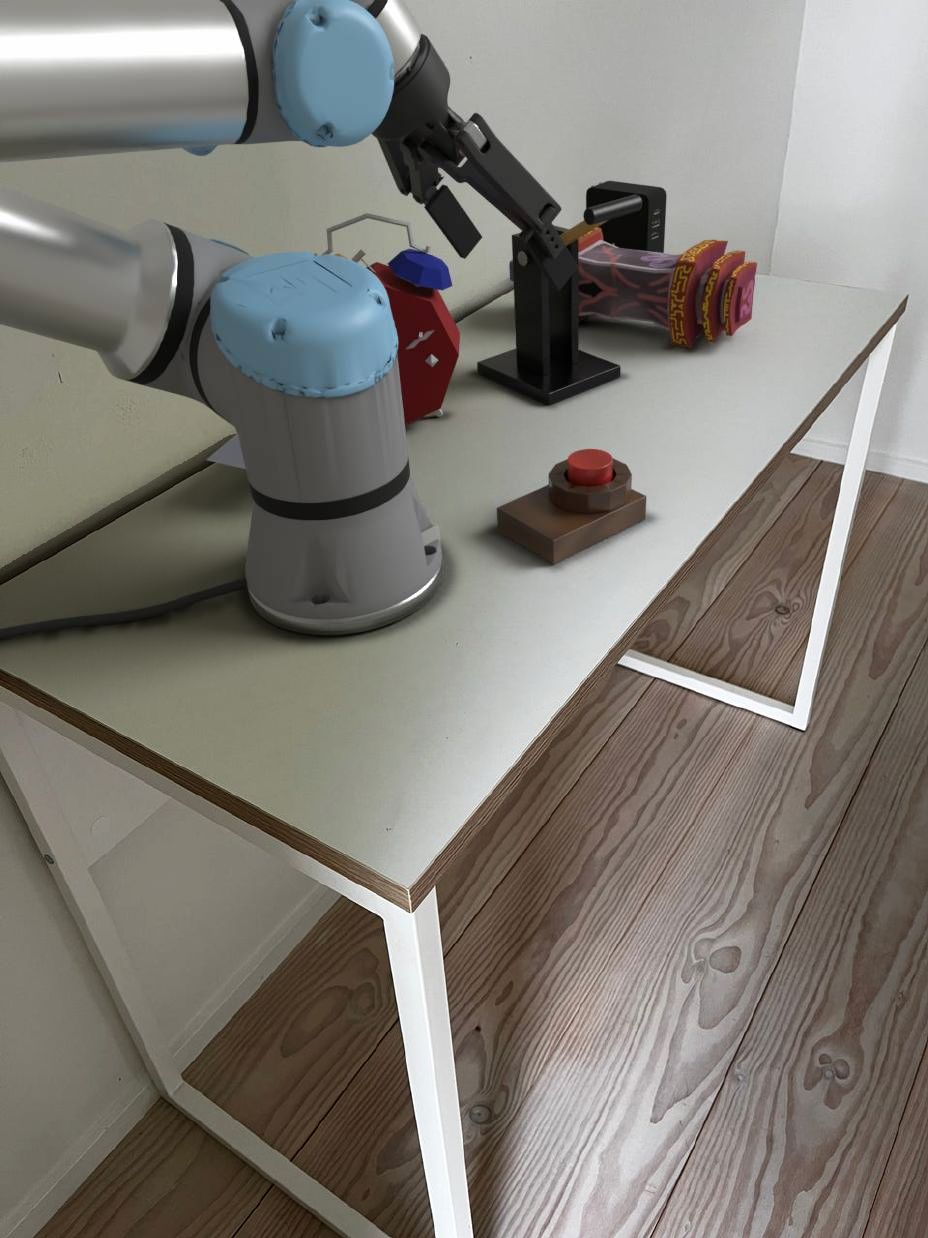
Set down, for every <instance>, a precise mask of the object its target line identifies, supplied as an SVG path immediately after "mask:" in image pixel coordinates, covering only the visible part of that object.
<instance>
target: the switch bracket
mask: <svg viewBox="0 0 928 1238" xmlns="http://www.w3.org/2000/svg"><path fill="white" fill-rule="evenodd" d="M553 226H554V227H555V229H556V231H557V232H558V234H559V236H560V235H561V234H563V233H565V232H566V231H568V230H569V229H570V228H565V227H562V226H558V225H554V224H553ZM520 233H521V232H517V233H514V234H511V249H512V250H511V252H512V253H511V254H512V260H513V281H512V282H513V302H514V306H513V308H514V328H515V348H513V349H510V350H508V351H507V350H506V351H505V352H503V353H499V354H496V355H494V356H491V357H488V358H487V357H486V358H485V359H482V360H480V361H477V362H476V369H477V374H479V375H481V376H483V377H485V378H488V379H490V380H492V381H494V382H497V383H499V384H501V385H504V386H505V387H508V388H510V389H512V390H514V391H516V392H519V393H520V394H523V395H525V396H528V397H530V398H532V399H535V400H537V401H539V402H541V403H543V404H545V405H547V406H550V405H554V404H556V403H558V402H562V401H563V400H566V399H569V398H571V397H574V396H576V395H578V394H581V393H583V392H586V391H589V390H591V389H594V388H596V387H599V386H601V385H604V384H606V383H608V382H611V381H614V380H616V379H618V378H621V373H622V369H621V367H622V366H621V365H620V364H617V363H614V362H613V361H610V360H607V359H604V358H601V357H599V356H596V355H594V354H591V353H589V352H586V351H583V350H581V349H580V348H579V347H580V345H579V344H580V342H579V341H580V340H579V336H580V332H579V331H580V327H579V325H580V324H579V323H580V322H579V239H577V240H575V241H574V242H572V243H571V244H569V245H567V246H566V247H567V249H568V250H569V252H570V254H571V255H572V257H573V259H574V260H575V262H576V264H577V265H578V268H577V269H576V271H575V272H574V273H573V274H572V276H571V277H570V278H569V279H568V281H567V282H566V283H565V284H564V286H563V287H562V288H561V289H560V291H558V290H555V289H553V287H552V286H551V284H550V283H549V281H548V280H547V278H546V277H545V275H544V274H543V272H542V271H541V269H540V267H539V266H538V264H537V263H536V261H535V260H534V258H533V257H532V255H531V254H530V252H529V251H528V249H527V248H526V246H525V244H524V243H522V242H521V241H519V239H520V237H519V234H520Z"/></svg>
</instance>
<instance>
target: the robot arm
mask: <svg viewBox="0 0 928 1238" xmlns="http://www.w3.org/2000/svg"><path fill="white" fill-rule="evenodd" d="M407 4H408V3H406V1H405V0H0V164H2V163H14V162H26V161H38V160H39V161H40V160H51V159H62V158H63V159H64V158H76V157H77V158H78V157H89V156H98V155H99V156H101V155H113V154H126V153H135V152H136V153H138V152H150V151H162V150H174V149H175V150H176V149H182V150H184V151H185V152H188V153H189V154H191V155H193V156H196V157H205V156H208V155H210V154H212V153H213V152H214V150H215V149H216V148H217V147H218V146H223V145H224V146H225V145H256V144H269V143H270V144H271V143H284V142H303V143H305V144H307V145H309V146H310V147H314V148H327V147H333V148H334V147H335V148H342V147H349V146H353V145H356V144H359V143H361V142H362V141H364V140H365V139H367V138H368V137H369V136H371V135H372V137H374V138H376V140H377V142H378V144H379V148H380V150H381V152H382V154H383V156H384V159H385V161H386V164H387V166H388V168H389V171H390V173H391V176H392V179H393V180H394V183H395V186H396V188H397V190H398V191H399V193H400V194H401V195H404V196H405V197H408V196H409V195H410V194H411V195H412V198H413V200H414V201H415V202H416V203H418V204H419V205H424V206H423V208H424V209H425V211H426V212H427V213H428V215H429V217H430V218H431V219H432V221H433V222H434V223H435V224H436V226H437V227H438V228H439V230H440V232H441V233H442V234H443V236H444V237H445V239H446V240H447V241H448V243H449V244H450V245H451V247H452V248H453V249H454V250H455V252H456V254H457V255H458V256H459V258H461V259H464V260H466V258H468V256H469V255H470V254H471V252H472V251H473V250H474V249H475V247H476V246H477V245H478V244H479V242H480V241H481V240H482V239H483V235H482V234H481V232H480V231H479V230H478V228H477V226H475V224H474V222H473V221H472V219H471V218H470V217H469V215H468V213H467V212H466V211H465V209H464V207H462V205H461V203H460V202H459V200H458V199H457V197H456V196H455V195H454V193H453V192H452V190H451V189H450V187H449V186H448V185H446V184H441V182H442V180H443V179H445V176H444V175H442V174H441V173H440V172H439V169H441V170H442V171H443V172H444V173H445V174H447V175H448V176H449V177H450V178H452V179H453V180H454V181H455V182H456V183H458V184H464V183H466V184H468V185H469V186H470V187H471V188H472V189H473V190H475V192H477V193H478V194H479V195H480V196H482V197H483V198H484V199H485V200H486V201H487V202H488V203H489V204H490V205H492V206H493V207H494V208H495V209H496V210H497V211H499V212H500V213H501V214H502V215H503V216H505V218H507V220H509V221H510V222H511V223H513V224H514V225H515V226H516V227H517V228H518V229H519V230H520V232H519V233H520V234H519V237H520V239H519V241H521V242H522V243H524V244H525V246H526V248H527V249H528V251H529V252H530V254H531V255H532V257H533V258H534V260H535V261H536V263H537V264H538V266H539V267H540V269H541V271H542V272H543V274H544V275H545V277H546V278H547V280H548V281H549V283H550V284H551V286H552V287H553V289H555V290H558V291H560V289H561V288H562V287H563V286H564V284H565V283H566V282H567V281H568V279H569V278H570V277H571V276H572V274H573V273H574V272H575V271H576V269H577V268H578V265H577V264H576V262H575V260H574V259H573V257H572V255H571V254H570V252H569V250H568V249H567V247H566V246H565V244H564V242H563V241H562V239H561V237H560V236H559V234H558V232H557V231H556V229H555V227H554V226H553V225H554V224H553V221H554V220H555V219H556V218H557V217H558V215H559V214H560V213H561V211H562V207H561V205H560V203H558V202H557V200H556V199H555V198H554V197H553V196H552V195H551V194H550V193H549V192H548V191H547V190H546V189H545V188H544V187H543V186H542V184H541V183H540V182H539V181H538V180H537V179H536V178H535V177H534V175H532V173H530V171H528V170H527V168H526V167H525V166H524V165H523V164H522V163H521V162H520V160H518V158H516V156H515V155H514V154H513V153H512V152H511V151H510V150H509V149H508V148H507V147H506V145H504V144H503V143H502V142H501V140H500V139H499V138H498V137H497V136H496V134H495V132H494V131H493V130H492V128H491V126H489V124H488V123H487V121H486V120H485V119H484V117H483V116H482V115H481V114H479V113H478V112H473V114H472V115H470V117H469V118H468V120H467V121H464V119H463V117H462V116H460V115H459V114H457V112H456V111H454V110H453V109H452V108H451V107H450V106H449V104H448V99H449V98H448V97H449V92H450V87H451V75H450V74H451V73H450V71H449V69H448V68H447V66H446V64H445V63H444V61H443V60H442V58H441V56H440V55H439V53H438V52H437V50H436V48H435V47H434V45H433V44H432V42H431V40H430V39H429V37H428V36H427V35H426V34H423V33H422V29H421V25H420V23H418V20H417V19H416V17H415V15H414V13H412V11H411V9H410V8H409V6H408V5H407ZM465 158H466V160H465V162H463V160H464V159H465ZM462 162H463V164H462V165H461V166H459V165H460V164H461V163H462ZM440 184H441V185H440ZM439 185H440V187H439V188H437V187H438V186H439ZM313 254H314V253H313V252H311V251H288V252H286V251H285V252H275V253H269V254H265V255H260V256H257V257H256V256H255V257H254V256H253V255H250V253H249V252H247V251H245V250H243V249H241V248H240V247H238V246H236V245H234V244H231V243H229V242H225V241H223V240H220V239H217V238H206V237H203V236H201V235H198V234H196V233H193V232H191V231H188V230H185V229H183V228H180V227H178V226H174V225H172V224H169V223H167V222H164V221H162V220H159V219H155V218H146V219H143V220H141V221H139V222H137V223H136V224H134V225H132V226H131V227H129V228H127V229H121V228H118V227H116V226H113V225H110V224H107V223H104V222H102V221H99V220H97V219H94V218H91V217H88V216H85V215H84V214H81V213H77V212H74V211H73V210H69V209H67V208H64V207H61V206H59V205H56V204H53V203H50V202H48V201H45V200H42V199H40V198H36V197H34V196H32V195H29V194H26V193H23V192H21V191H18V190H16V189H13V188H10V187H8V186H5V185H2V184H0V326H1V325H2V326H5V327H9V328H12V329H16V330H19V331H22V332H23V331H24V332H27V333H31V334H34V335H37V336H41V337H45V338H48V339H52V340H57V341H59V342H62V343H66V344H70V345H73V346H77V347H81V348H84V349H88V350H91V351H94V352H97V354H98V356H99V357H100V359H101V361H102V363H103V364H104V366H105V368H106V369H107V371H108V372H109V374H110V375H111V376H112V377H114V378H116V379H119V380H122V381H126V382H130V383H133V384H137V385H141V386H144V387H148V388H152V389H156V390H159V391H163V392H167V393H169V394H170V393H171V394H175V395H177V396H182V397H186V398H188V399H191V400H194V401H197V402H199V403H201V404H203V405H204V406H206V407H207V408H208V409H210V410H211V411H212V412H214V414H216V415H217V416H218V417H220V418H221V419H222V420H224V421H225V422H227V423H228V424H229V425H231V426H232V427H234V429H235V431H236V434H238V437H239V441H240V445H241V450H242V454H243V459H244V463H245V468H246V469H245V472H246V476H247V480H248V484H249V489H250V494H251V498H252V513H251V520H250V526H249V533H248V540H247V541H248V542H247V550H246V558H245V562H244V563H245V565H244V571H245V572H244V574H245V577H242V578H238V579H235V580H232V581H229V582H224V583H221V584H219V585H215V586H212V587H209V588H205V589H202V590H199V591H196V592H193V593H190V594H187V595H184V596H181V597H179V598H176V599H172V600H169V601H167V602H163V603H159V604H155V605H151V606H147V607H146V606H145V607H141V608H137V609H130V610H123V611H117V612H109V613H100V614H89V615H80V616H70V617H63V618H56V619H49V620H43V621H38V622H36V621H35V622H30V623H26V624H25V623H24V624H19V625H15V626H13V625H12V626H10V627H9V626H8V627H3V628H0V640H5V639H10V638H16V637H22V636H26V635H33V634H39V633H44V632H51V631H57V630H66V629H71V628H82V627H90V626H101V625H110V624H119V623H125V622H126V623H127V622H132V621H138V620H144V619H147V618H153V617H157V616H160V615H166V614H168V613H172V612H175V611H178V610H180V609H181V610H182V609H184V608H186V607H189V606H193V605H195V604H199V603H201V602H204V601H208V600H210V599H214V598H217V597H221V596H224V595H227V594H231V593H234V592H237V591H242V590H244V589H247V593H248V596H249V601H250V602H251V605H252V607H253V608H254V610H255V611H256V612H257V613H258V614H259V616H261V617H262V618H263V619H265V620H266V621H268V622H269V623H271V624H272V625H274V626H277V627H279V628H281V629H285V630H288V631H292V632H295V633H299V634H305V635H314V636H315V635H317V636H341V635H350V634H356V633H362V632H367V631H371V630H374V629H375V630H376V629H379V628H382V627H384V626H387V625H388V626H389V625H390V624H393V623H396V622H397V621H400V620H402V619H404V618H405V617H408V616H410V615H411V614H413V613H414V612H416V611H418V610H419V609H421V607H423V606H424V605H426V604H427V602H429V601H430V600H431V599H432V598H433V597H434V595H436V593H437V591H438V590H439V588H440V587H441V585H442V582H443V579H444V577H445V560H444V559H445V558H444V551H443V550H444V549H443V546H442V543H441V540H442V539H441V529H440V523H437V524H436V525H434V523H433V521H432V519H431V517H430V515H429V514H428V511H427V509H426V508H425V505H424V503H423V501H422V499H421V497H420V495H419V493H418V491H417V489H416V487H415V485H414V482H413V481H412V476H411V467H410V459H409V450H408V442H407V433H406V431H407V430H406V425H405V421H404V412H403V403H402V393H401V384H400V375H399V366H398V356H397V350H398V336H397V330H396V328H395V323H394V320H393V316H392V312H391V308H390V303H389V298H388V295H387V292H386V290H385V288H384V286H383V284H382V283H381V282H380V280H379V279H378V278H377V276H376V275H374V274H373V273H372V272H371V271H370V270H368V269H367V268H366V266H364V265H362V264H360V263H359V262H358V263H356V262H354V261H353V260H352V259H349V258H347V257H346V258H347V259H346V258H343V257H339V256H335V254H331V253H330V254H325V255H322V254H321V255H322V256H321V255H318V256H314V255H313Z"/></svg>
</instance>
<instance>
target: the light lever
mask: <svg viewBox="0 0 928 1238" xmlns="http://www.w3.org/2000/svg"><path fill="white" fill-rule="evenodd" d="M641 207H642V200H641V198H640V196H638V195H632V196H629V197H625V198H622V199H618V200H615V201H611V202H608V203H604V204H601V205H597V206H594V207H590V208H587V209H586V208H585V210H584V211H583V220H582V221H580V222H578V223H577V224H576V225H574V226H572V227H571V228H568V229H569V230H568V231H566V232H565V233H563V234H561V235H560V237H561V239H562V241H563V242H564V244H565V246H567V245H569V244H571V243H572V242H574V241H575V240H577V239H579V238H580V237H582V236H584V235H585V234H587V233H589V232H590V231H592V230H593V229H595V228H597V227H598V226H600V225H602V224H603V223H605V222H606V221H608V220H610V219H613V218H616V217H620V216H623V215H627V214H630V213H633V212H637V211H639V210H640V209H641Z"/></svg>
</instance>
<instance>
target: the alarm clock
mask: <svg viewBox="0 0 928 1238" xmlns="http://www.w3.org/2000/svg"><path fill="white" fill-rule="evenodd" d="M366 219H367V220H368V219H369V220H372V221H373V220H374V221H378V222H382V223H386V224H387V223H388V224H392V225H396V226H400V227H406V228H405V229H406V233H407V238H408V244H409V247H410V248H406V249H403V250H401V251H400V252H398V253H397V254H396V255H395V256H394V257H393V258H392V259H391V260H389V262H387V264H385V263H381V262H378V261H375V262H373V263H372V264H370V265H369V264H368V263H367V262H366V261H365V259H364V257H365V256H366V255H367V254H366V252H365V250H364V249H360V250H358V251H357V253H356V254H355V255H354V256H353V257H352V258H351V260H352V261H354V262H356V263H358V264H359V262H360V261H362V263H363V264H364V265H365V268H367V269H368V270H370V271H371V272H372V273H373V274H374V275H376V276H377V278H378V279H379V280H380V282H381V283H382V284H383V286H384V288H385V290H386V292H387V295H388V298H389V303H390V308H391V312H392V316H393V320H394V323H395V328H396V330H397V336H398V350H397V356H398V366H399V375H400V384H401V393H402V403H403V412H404V421H405V426H406V425H408V424H410V423H412V422H415V421H417V420H419V419H421V418H423V417H426V416H428V415H430V414H434V415H435V416H436V417H438V418H440V417H442V416H443V415H444V412H443V410H442V407H443V403H444V401H445V397H446V395H447V391H448V389H449V386H450V383H451V380H452V377H453V375H454V372H455V369H456V366H457V363H458V359H459V357H460V343H461V342H460V340H461V331H460V330H459V328H458V326H457V324H456V322H455V320H454V319H453V316H452V314H451V313H450V311H449V308H448V307H447V305H446V302H445V300H444V299H443V297H442V295H441V293H440V291H444V290H447V289H449V288H451V287H453V282H452V278H451V274H450V269H449V266H448V265H447V263H446V262H444V261H443V259H441V258H439V257H437V256H435V255H433V253H431V252H430V251H431V249H432V246H431V245H426V246H425V248H423V247H421V246H420V245H418V244H416V243H415V242H414V237H413V236H414V235H413V230H412V224H411V222H408V221H404V220H399V219H395V218H390V217H386V216H381V215H377V214H372V213H368V212H365V213H363V214H361V215H358V216H355V217H353V218H351V219H348V220H345V221H343V222H341V223H338V224H335V225H333V226H330V227H327V228H326V239H327V250H325V251H324V252H323V253H322V254H321V255H320V256H322V255H325V254H330V255H331V253H334V252H333V251H334V248H333V232H335V231H338V230H341V229H344V228H346V227H348V226H351V225H354V224H356V223H359V222H361V221H365V220H366ZM313 255H314V256H319V255H318V254H317V252H315V253H313ZM334 255H335V256H339V257H343V258H346V259H348V258H347V257H346V256H344V255H342V254H341V253H336V254H334Z"/></svg>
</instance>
